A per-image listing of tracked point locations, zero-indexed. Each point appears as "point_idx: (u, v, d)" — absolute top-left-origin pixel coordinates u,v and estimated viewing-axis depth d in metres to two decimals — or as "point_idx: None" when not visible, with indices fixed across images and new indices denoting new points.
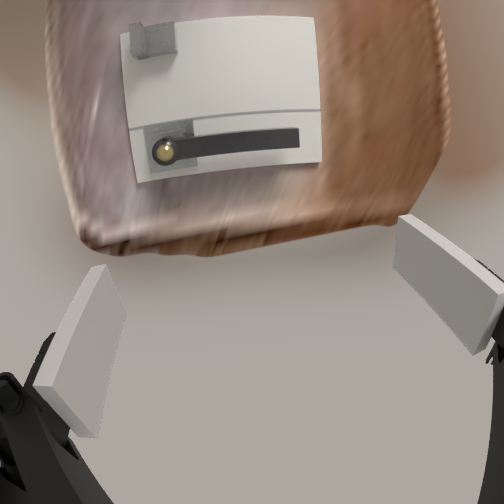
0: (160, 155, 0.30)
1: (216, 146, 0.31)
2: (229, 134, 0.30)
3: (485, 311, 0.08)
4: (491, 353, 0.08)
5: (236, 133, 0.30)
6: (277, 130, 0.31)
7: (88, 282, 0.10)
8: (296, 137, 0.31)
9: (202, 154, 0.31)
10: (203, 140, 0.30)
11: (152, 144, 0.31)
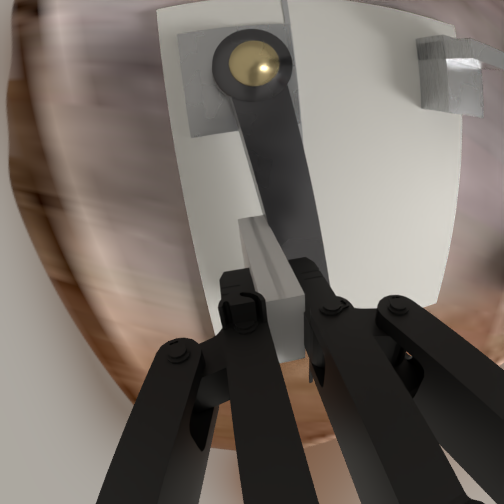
0: (245, 51, 0.09)
1: (283, 194, 0.12)
2: (315, 218, 0.13)
3: None
4: (310, 372, 0.09)
5: (318, 233, 0.13)
6: None
7: (248, 229, 0.13)
8: None
9: (257, 163, 0.12)
10: (295, 159, 0.12)
11: None
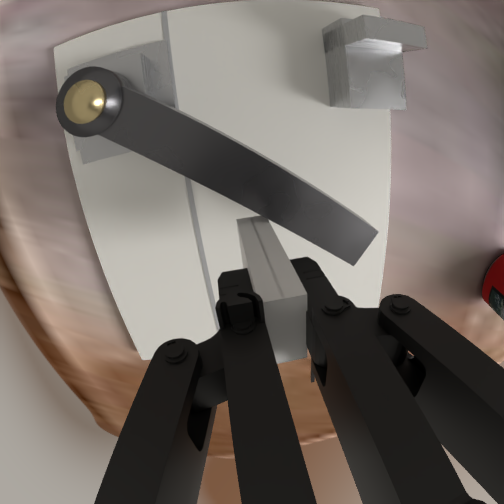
0: (71, 102, 0.09)
1: (200, 159, 0.12)
2: (247, 152, 0.12)
3: None
4: (312, 372, 0.09)
5: (263, 160, 0.12)
6: (343, 210, 0.13)
7: (247, 229, 0.13)
8: (362, 245, 0.14)
9: (158, 157, 0.11)
10: (182, 126, 0.11)
11: (117, 63, 0.11)
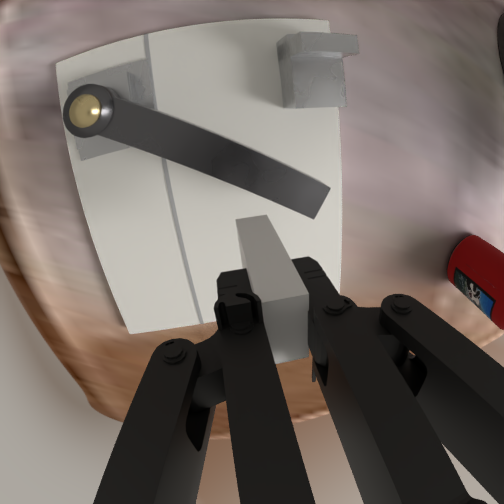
0: (74, 112, 0.12)
1: (176, 144, 0.15)
2: (211, 135, 0.15)
3: None
4: (313, 371, 0.09)
5: (224, 139, 0.15)
6: (296, 172, 0.17)
7: (246, 229, 0.13)
8: (318, 200, 0.18)
9: (145, 146, 0.15)
10: (160, 121, 0.14)
11: (108, 80, 0.14)
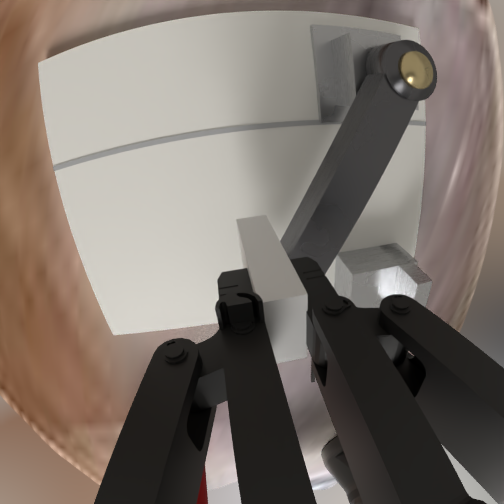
0: (419, 58, 0.10)
1: (360, 165, 0.12)
2: (363, 204, 0.13)
3: None
4: (312, 372, 0.09)
5: (356, 218, 0.14)
6: None
7: (247, 229, 0.13)
8: None
9: (364, 127, 0.12)
10: (386, 149, 0.12)
11: None
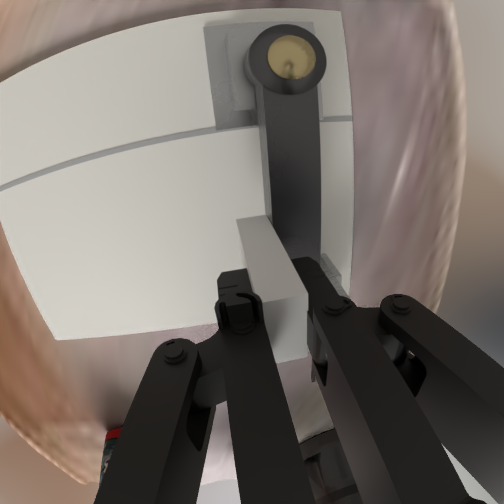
0: (285, 44, 0.09)
1: (292, 189, 0.12)
2: (318, 219, 0.13)
3: None
4: (313, 372, 0.09)
5: (318, 234, 0.14)
6: None
7: (246, 229, 0.13)
8: None
9: (273, 154, 0.12)
10: (310, 157, 0.12)
11: None
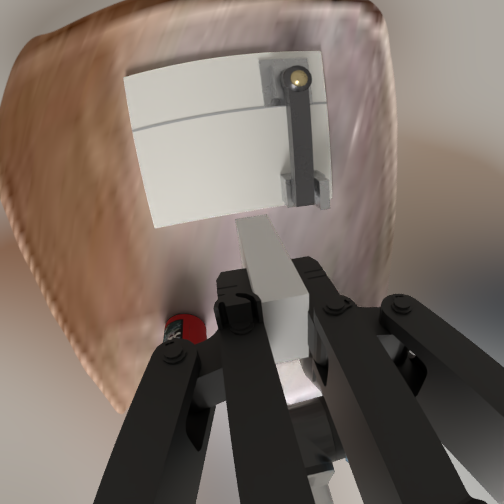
0: (297, 73, 0.27)
1: (300, 127, 0.30)
2: (311, 140, 0.31)
3: None
4: (313, 371, 0.09)
5: (311, 146, 0.31)
6: (313, 184, 0.33)
7: (245, 229, 0.13)
8: (306, 202, 0.34)
9: (292, 113, 0.29)
10: (306, 115, 0.30)
11: None
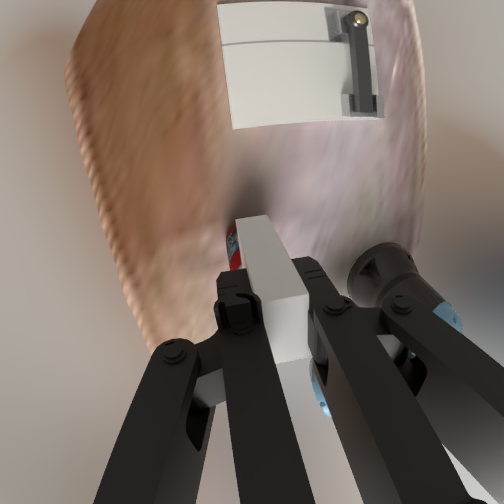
0: (359, 15, 0.30)
1: (361, 52, 0.33)
2: (369, 63, 0.34)
3: None
4: (313, 371, 0.09)
5: (369, 67, 0.34)
6: (371, 96, 0.36)
7: (246, 229, 0.13)
8: (366, 110, 0.37)
9: (356, 42, 0.32)
10: (365, 45, 0.33)
11: None
